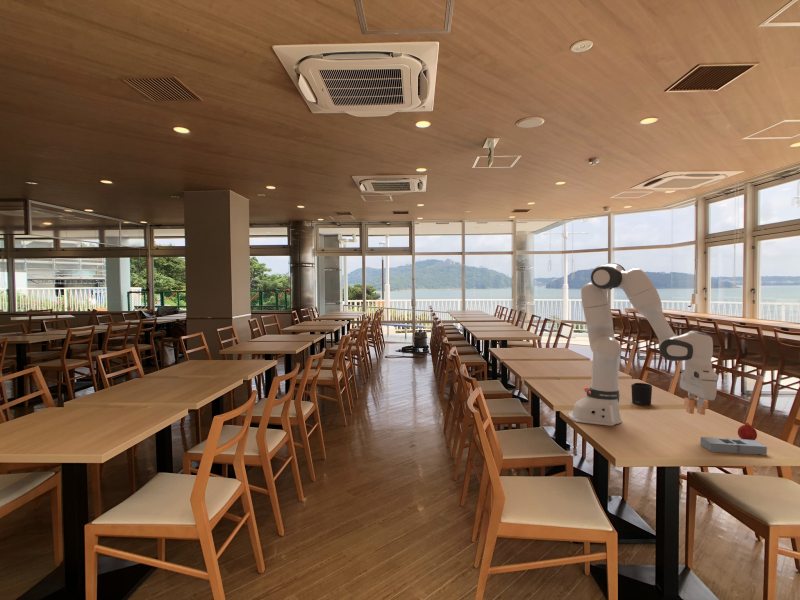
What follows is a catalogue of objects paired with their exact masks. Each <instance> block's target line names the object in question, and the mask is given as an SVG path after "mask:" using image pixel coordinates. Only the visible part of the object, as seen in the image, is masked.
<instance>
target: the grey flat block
mask: <svg viewBox="0 0 800 600" xmlns="http://www.w3.org/2000/svg"><path fill="white" fill-rule="evenodd" d="M700 446H702V447H703V448H705V449H706V450H708V451H709V452H713V453H726V454H727V453H728V454H730V453H731V454H743V455H757V454H768V447H767V446H766V445H764V444H762V443H760V442H758V441H757V440H756V439H755V440H745V439H741V438H728V437H727V438H723V437H711V436H710V437H709V436H700Z"/></svg>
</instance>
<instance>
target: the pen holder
mask: <svg viewBox="0 0 800 600" xmlns="http://www.w3.org/2000/svg"><path fill="white" fill-rule="evenodd" d="M652 394H653V386H652V384H649V383H645V382H634V383H631V402H632V403H633V404H634V405H639V406H651V404H652V396H653V395H652Z"/></svg>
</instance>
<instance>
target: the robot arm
mask: <svg viewBox="0 0 800 600" xmlns="http://www.w3.org/2000/svg"><path fill="white" fill-rule="evenodd" d="M590 280H591V281H590V282H587V283H585V284H584V285H583V286H582V287H581V289H580V290H581V291H580V297H581V304H582V309H583V315H584V318H585V323H586V329H587V335H588V342H589V347H590V351H591V352H592V353H593V354H592V356H593V357H592V367H591V375H590V376H591V382H590V383H591V385H590V386H591V387H587V386H586V387H585V386H584V388H583V391H584V392H585V393H586V395H585V396H584V397H581V399H579V400H577V401H576V402H575V403H574V405H573V409H572V411H569V412H568V413H567V417H568V418H569V419H570V420H571V421H573V422H576V423H583V424H590V425H591V424H592V425H600V426H601V425H602V426H608V427H609V426H611V427H612V426H614V425H618V424H621V423H622V422H623V421H622V418H621V414H620V413H621V412H620V407H619V403H620V390H619V371H620V370H619V369H620V364H621V354H622V346H621V343H620V342H619V340H618V339H616V338H615V333H614V322H613V316H612V312H611V311H612V310H611V307H610V302H609V299H608V292H609V291H610V290H612V289H615V288H620V289H622V291H623V292H624V294H625V295H626V298H627V299H628V301H629V302H630V305H631V306H632V307H633V308H634V309H635V310H636V312H638V313H639V314H640V315H641V316H643V317H644V318H645V319H646V320H647V321H648V322H649V324H650V326H651V328H652V330H653V331H654V333H655V335H656V337H657V340H658V348H659V349H658V350H659V354H660V356H661V357H662V358H664V359H665V360H667V361H670V362H678V361H679V362H680V361H684V370H683V371H682V372H681V376H680V380H679V381H680V382H679V387H680V389H682V390H684V391H686V392H687V396H688V398H697V399H698V400H697V402H696V406H697V407H699V408H702V406H703V402H704V401H705V400H707V401H715V399H716V397H717V392H718V384H717V382H718V381H719V375H718V374H717V372H715V371H714V369H713V363H712V357H713V355H714V344H713V343H714V341H713V337H712V336H711V335H710V334H708V333H705V332H703V331H702V332H701V331H697V330H689V331H688V332H685V333H683V334H680V335H677V334H676V333H675V332H674V331H673V329H672V327H671V326H670V324H669V322H668V320H667V319H666V317H665V315H664V312H663V307H662V306H663V305H662V301H661V297H660V295H659V292H658V290H657V289H656V287H655V285H654V283H653V281H651V279H650V277H649V276H648V275H647V274H646V273H645V272H644V271H643V270H642V269H640V268H636V267H635V268H630V269H628V270H626V269H625V268H624V267H623V266H622V265H621V264H618V263H610V262H609V263H604V264H601V265H598V266H596V267H595V268H594V269H593V270H592V272H591V274H590Z"/></svg>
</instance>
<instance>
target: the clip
mask: <svg viewBox="0 0 800 600" xmlns="http://www.w3.org/2000/svg"><path fill="white" fill-rule="evenodd" d="M697 400H698V399H697V397H695V398H689V397H684V401H683V405H684V406H685V407H686V408H685V409H686V410H685V412H686V413H688V414H692V415H694V414H695V409H696V413H697V414H699V415H702V416H705V415H706V410H707V409H709V400H705V401H704V402H703V406H702V408H699V407H697V406H696V402H697Z"/></svg>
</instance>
